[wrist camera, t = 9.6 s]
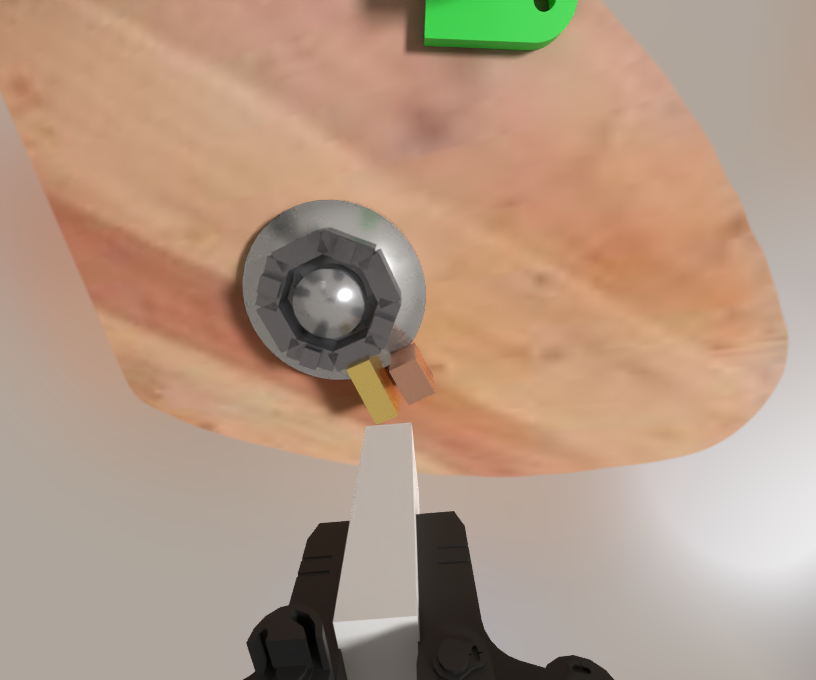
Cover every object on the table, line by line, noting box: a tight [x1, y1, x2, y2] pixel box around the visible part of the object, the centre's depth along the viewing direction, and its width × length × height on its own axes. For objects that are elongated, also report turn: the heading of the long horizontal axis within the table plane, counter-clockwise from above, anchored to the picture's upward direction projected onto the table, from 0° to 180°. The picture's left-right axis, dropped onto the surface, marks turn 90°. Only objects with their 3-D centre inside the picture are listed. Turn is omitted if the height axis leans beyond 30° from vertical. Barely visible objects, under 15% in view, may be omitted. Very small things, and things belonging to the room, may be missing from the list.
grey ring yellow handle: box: [255, 227, 402, 425], centre depth 39 cm, size 19×12×4 cm, turn 25°
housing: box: [242, 200, 435, 405], centre depth 40 cm, size 21×18×6 cm
